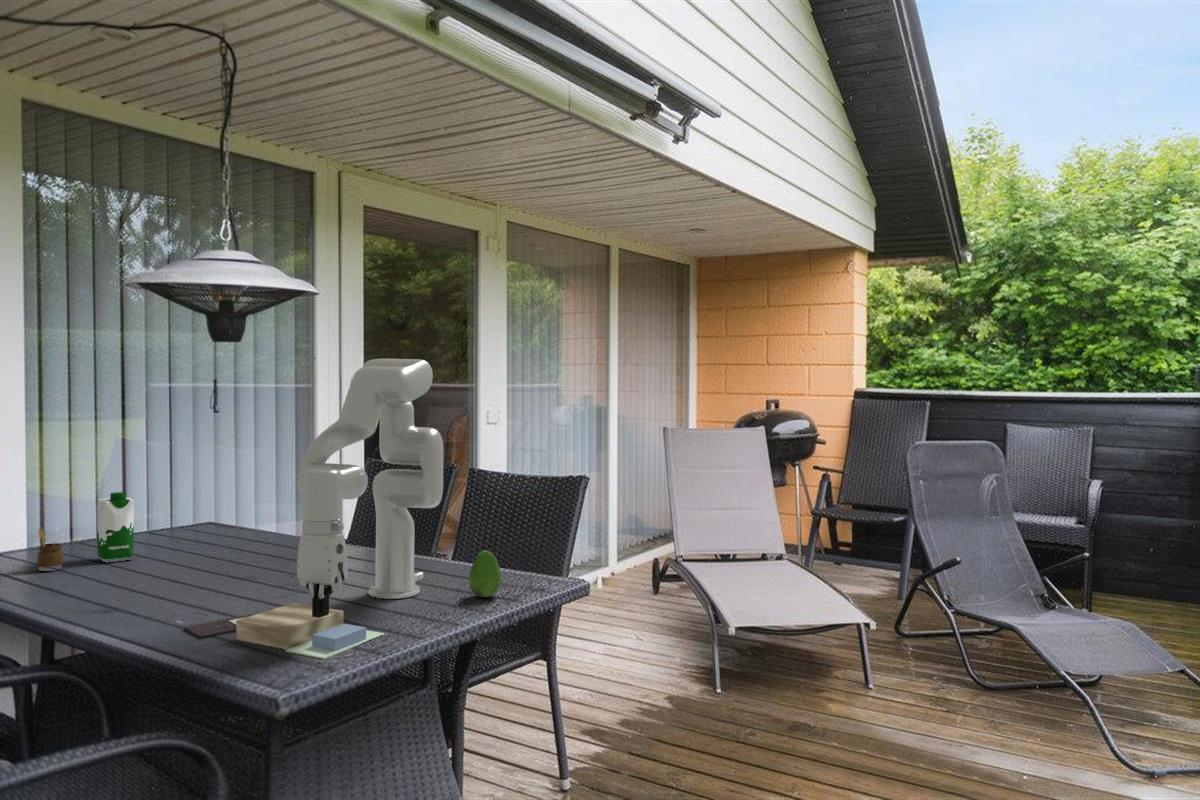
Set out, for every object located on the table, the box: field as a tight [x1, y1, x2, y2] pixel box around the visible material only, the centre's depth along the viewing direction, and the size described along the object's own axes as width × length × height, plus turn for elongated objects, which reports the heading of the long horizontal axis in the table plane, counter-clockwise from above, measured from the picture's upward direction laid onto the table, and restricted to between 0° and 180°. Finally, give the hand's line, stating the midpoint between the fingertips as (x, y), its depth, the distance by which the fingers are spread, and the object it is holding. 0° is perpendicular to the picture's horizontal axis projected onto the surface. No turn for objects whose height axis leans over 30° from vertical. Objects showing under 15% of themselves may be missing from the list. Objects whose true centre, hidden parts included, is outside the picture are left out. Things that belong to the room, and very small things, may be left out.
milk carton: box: [96, 491, 135, 559], centre depth 244 cm, size 9×9×20 cm
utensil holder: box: [37, 528, 64, 568], centre depth 230 cm, size 6×6×12 cm
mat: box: [285, 629, 386, 660], centre depth 171 cm, size 18×10×1 cm, turn 156°
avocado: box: [468, 549, 502, 598], centre depth 210 cm, size 8×8×12 cm
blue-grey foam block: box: [312, 623, 367, 651], centre depth 170 cm, size 9×6×2 cm, turn 155°
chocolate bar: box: [183, 612, 260, 640], centre depth 182 cm, size 9×1×18 cm
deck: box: [235, 602, 344, 650], centre depth 176 cm, size 16×14×4 cm
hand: (320, 615), depth 173 cm, fingers closed
